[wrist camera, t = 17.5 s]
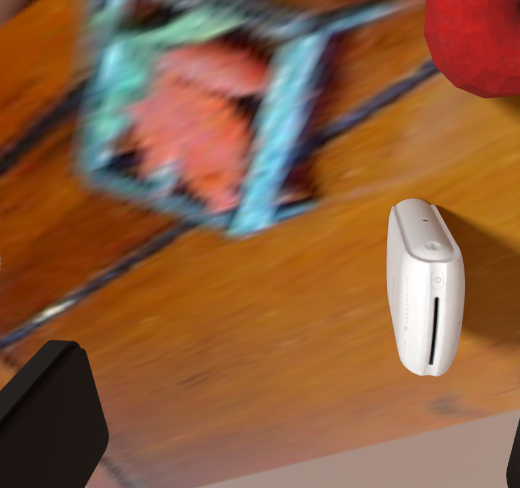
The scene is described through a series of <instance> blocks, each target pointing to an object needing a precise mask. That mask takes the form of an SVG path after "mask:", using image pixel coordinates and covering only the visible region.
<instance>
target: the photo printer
mask: <svg viewBox="0 0 520 488" xmlns="http://www.w3.org/2000/svg"><path fill="white" fill-rule="evenodd" d="M387 292H388V298H389V304H390V310H391V316H392V321H393V326H394V332H395V337H396V342H397V347H398V352H399V356H400V359H401V361H402V363H403V364H404V366H405V367H406V368H407V369H409V370H410V371H411V372H413V373H415V374H418V375H420V376H422V375H433V376H440V375H442V374H444V373H445V372H446V371H447V370H448V369H449V367H450V365H451V364H452V362H453V360H454V357H455V355H456V352H457V349H458V344H459V339H460V334H461V327H462V319H463V310H464V297H465V276H464V264H463V258H462V254H461V251H460V249H459V247H458V245H457V244H456V242H455V240H454V238H453V236H452V235H451V233H450V231H449V229H448V228H447V226H446V224H445V222H444V220H443V219H442V217H441V215H440V213H439V211H438V210H437V208H436V206H435V205H429V204H428V203H427V202H425V201H423V200H420V199H406V200H403V201H401V202H399V203H398V204H397V205H396V206H392V209H391V212H390V217H389V225H388V239H387Z"/></svg>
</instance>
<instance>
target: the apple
mask: <svg viewBox="0 0 520 488" xmlns="http://www.w3.org/2000/svg"><path fill="white" fill-rule="evenodd" d="M424 36H425V38H426V41H427V44H428V47H429V50H430V53H431V56H432V59H433V62H434V65H435V66H436V67H437V68H438V69H439V70H440V71H441V72H442V73H443V74H444V75H445V77H446V78H447V79H448V80H449V81H450V82H451V83H452V84H453V85H454V86H455V87H457V88H460V89H462V90H465V91H467V92H470V93H472V94H475V95H477V96H480V97H482V98H493V97H504V96H516V95H520V0H426V5H425V26H424Z"/></svg>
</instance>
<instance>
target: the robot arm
mask: <svg viewBox="0 0 520 488" xmlns="http://www.w3.org/2000/svg"><path fill="white" fill-rule="evenodd" d="M108 441H109V432H108V428H107V425H106V421H105V418H104V414H103V411H102V407H101V403H100V400H99V396H98V393H97V389H96V386H95V382H94V378H93V375H92V371H91V368H90V364H89V361H88V357H87V354H86V351H85V350H84V349H83V348H80V345H79V344H78V343H77V342H75V341H61V340H51V341H48V342H47V343H46V344H44V345H43V347H42V348H41V349H40V350H39V351H38V352H37V353H36V354H35V355H34V356H33V357H32V358H31V359H30V360H29V361H28V362H27V363H26V364H25V365H24V367H23V368H22V369H21V370H20V371H19V372H18V373H17V374H16V375H15V376H14V377H13V378H12V379H11V380H10V381H9V382H8V383H7V384H6V385H5V386H4V388H3V389H2V390H1V391H0V488H85V486H86V484H87V482H88V480H89V479H90V477H91V475H92V473H93V472H94V470H95V468H96V466H97V464H98V463H99V461H100V459H101V457H102V456H103V454H104V452H105V450H106V448H107V445H108ZM506 478H507V485H508V488H520V420H519V423H518V427H517V431H516V436H515V439H514V443H513V448H512V451H511V455H510V459H509V463H508V467H507V473H506Z"/></svg>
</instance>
